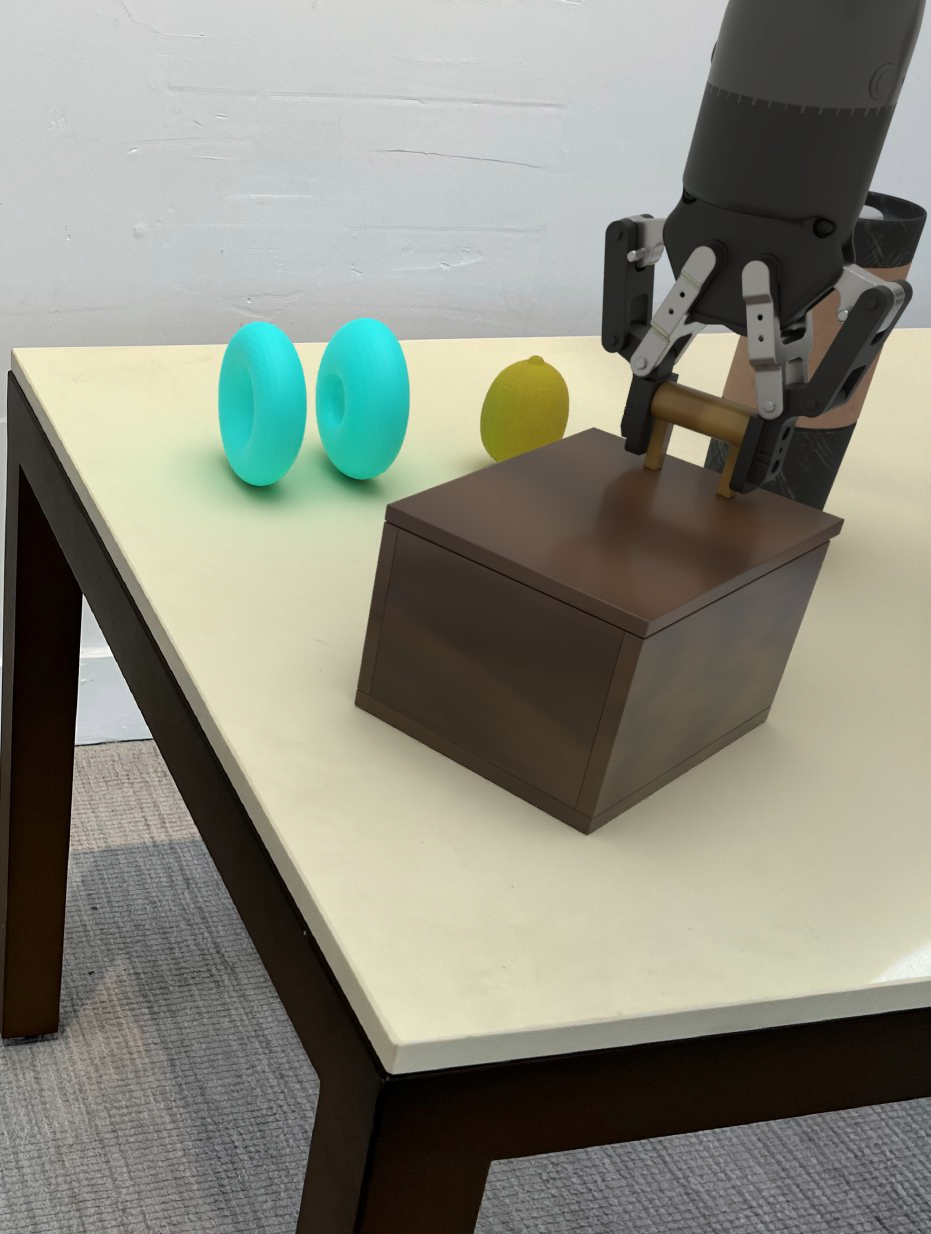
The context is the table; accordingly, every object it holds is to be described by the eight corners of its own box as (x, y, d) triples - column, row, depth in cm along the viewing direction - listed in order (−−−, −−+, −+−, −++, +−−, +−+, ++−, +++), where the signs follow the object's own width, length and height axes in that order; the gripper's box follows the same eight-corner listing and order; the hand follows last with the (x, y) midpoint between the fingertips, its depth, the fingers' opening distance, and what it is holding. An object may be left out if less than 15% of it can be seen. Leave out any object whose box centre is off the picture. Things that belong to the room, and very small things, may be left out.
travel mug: (800, 578, 88) (923, 229, 76) (671, 545, 91) (770, 204, 79) (819, 532, 93) (937, 200, 82) (697, 502, 96) (793, 178, 84)
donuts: (206, 451, 99) (219, 301, 94) (345, 443, 102) (365, 296, 96) (254, 513, 92) (270, 354, 86) (402, 503, 94) (429, 347, 88)
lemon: (479, 452, 102) (501, 336, 97) (560, 467, 100) (587, 350, 95) (462, 481, 97) (485, 361, 93) (546, 497, 96) (574, 377, 91)
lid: (590, 441, 77) (613, 346, 74) (840, 534, 69) (877, 432, 66) (383, 520, 68) (400, 415, 65) (644, 639, 60) (676, 525, 57)
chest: (540, 614, 82) (581, 445, 77) (766, 720, 74) (831, 540, 69) (353, 704, 74) (383, 521, 68) (587, 835, 66) (643, 640, 60)
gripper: (1016, 105, 59) (870, 501, 69) (697, 47, 67) (608, 407, 77) (933, 123, 55) (790, 542, 65) (604, 59, 63) (522, 438, 73)
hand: (691, 467), depth 71 cm, fingers closed on lid, 5 cm apart
